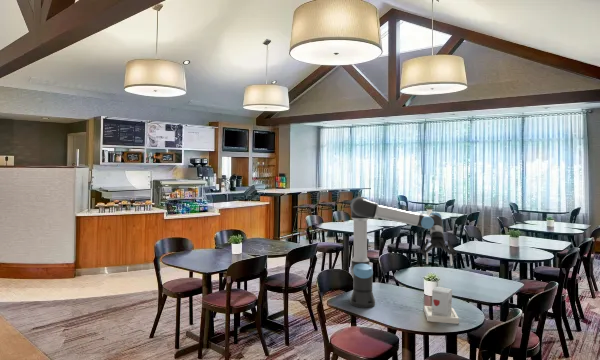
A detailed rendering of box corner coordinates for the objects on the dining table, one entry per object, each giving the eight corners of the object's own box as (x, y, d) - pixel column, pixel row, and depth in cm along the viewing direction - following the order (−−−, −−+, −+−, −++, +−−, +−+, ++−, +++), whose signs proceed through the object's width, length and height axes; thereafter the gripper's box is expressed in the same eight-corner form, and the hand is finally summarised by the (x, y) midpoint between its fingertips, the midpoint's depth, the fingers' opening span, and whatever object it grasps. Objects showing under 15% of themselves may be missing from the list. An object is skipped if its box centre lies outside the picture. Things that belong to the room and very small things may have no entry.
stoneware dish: (427, 321, 214) (427, 315, 214) (424, 310, 230) (424, 305, 229) (458, 323, 211) (458, 318, 211) (453, 313, 226) (453, 308, 226)
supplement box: (430, 316, 218) (431, 289, 218) (435, 311, 226) (435, 285, 225) (447, 320, 213) (448, 292, 213) (451, 315, 221) (452, 288, 220)
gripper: (457, 239, 244) (460, 269, 230) (415, 236, 249) (416, 265, 235) (459, 232, 239) (463, 262, 225) (416, 229, 244) (418, 258, 230)
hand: (439, 263), depth 230 cm, fingers open, 13 cm apart
